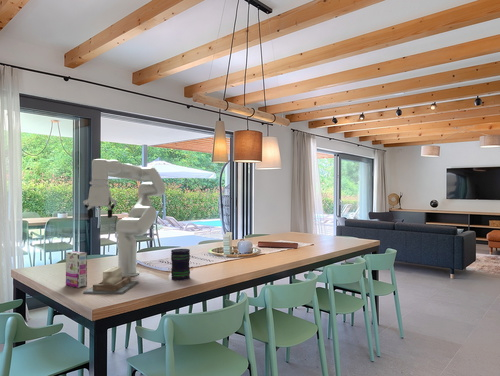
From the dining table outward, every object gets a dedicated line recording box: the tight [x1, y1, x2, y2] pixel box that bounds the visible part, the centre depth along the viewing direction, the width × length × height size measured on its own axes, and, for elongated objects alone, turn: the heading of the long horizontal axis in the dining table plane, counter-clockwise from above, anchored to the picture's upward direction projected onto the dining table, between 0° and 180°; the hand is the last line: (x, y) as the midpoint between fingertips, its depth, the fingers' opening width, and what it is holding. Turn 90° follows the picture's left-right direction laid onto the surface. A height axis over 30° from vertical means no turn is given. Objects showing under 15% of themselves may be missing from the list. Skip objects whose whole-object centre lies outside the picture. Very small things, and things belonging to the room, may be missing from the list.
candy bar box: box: [65, 250, 88, 289], centre depth 177 cm, size 11×5×16 cm, turn 56°
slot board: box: [83, 276, 140, 295], centre depth 172 cm, size 20×18×4 cm
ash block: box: [102, 266, 122, 284], centre depth 172 cm, size 4×11×8 cm, turn 177°
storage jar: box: [170, 248, 191, 282], centre depth 190 cm, size 10×10×15 cm
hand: (100, 217), depth 181 cm, fingers open, 9 cm apart
